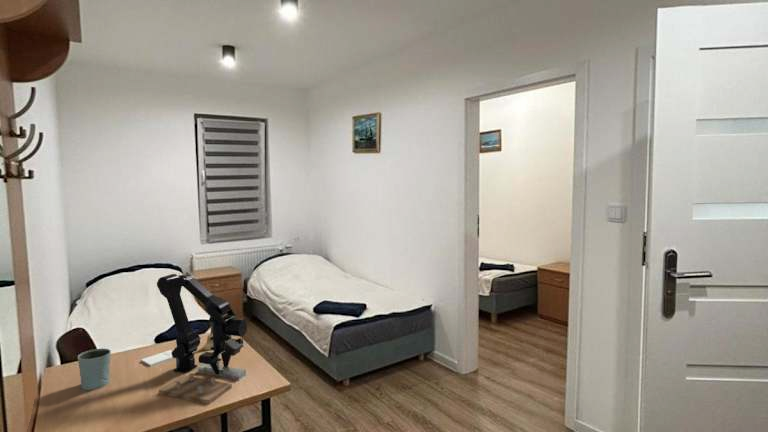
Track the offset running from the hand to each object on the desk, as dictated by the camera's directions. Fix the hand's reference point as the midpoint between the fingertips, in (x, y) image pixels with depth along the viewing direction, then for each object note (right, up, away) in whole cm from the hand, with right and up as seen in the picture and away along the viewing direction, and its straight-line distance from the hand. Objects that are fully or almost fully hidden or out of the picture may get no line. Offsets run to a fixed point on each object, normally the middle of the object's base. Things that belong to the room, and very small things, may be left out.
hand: (221, 371), depth 166 cm
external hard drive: (-31, 0, +13) cm, 34 cm away
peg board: (-4, -2, -13) cm, 14 cm away
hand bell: (-14, +1, +27) cm, 30 cm away
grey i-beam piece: (0, -1, 0) cm, 1 cm away
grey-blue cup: (-44, -2, -9) cm, 45 cm away
